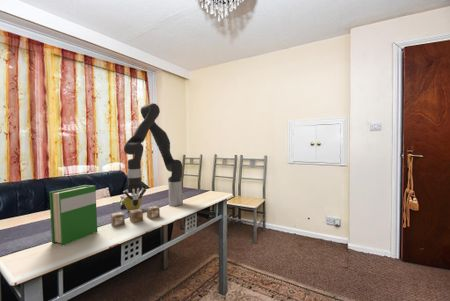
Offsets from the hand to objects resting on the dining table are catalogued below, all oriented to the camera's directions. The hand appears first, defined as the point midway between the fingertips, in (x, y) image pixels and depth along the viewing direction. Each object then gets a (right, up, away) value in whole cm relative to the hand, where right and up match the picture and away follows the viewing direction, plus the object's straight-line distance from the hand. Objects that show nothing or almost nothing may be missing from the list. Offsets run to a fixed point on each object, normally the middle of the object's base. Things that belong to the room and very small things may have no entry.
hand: (135, 205), depth 133 cm
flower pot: (-10, -9, +22) cm, 26 cm away
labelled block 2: (+9, -9, +6) cm, 14 cm away
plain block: (0, -9, 0) cm, 9 cm away
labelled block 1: (-8, -9, -5) cm, 13 cm away
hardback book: (-21, -10, -22) cm, 32 cm away
